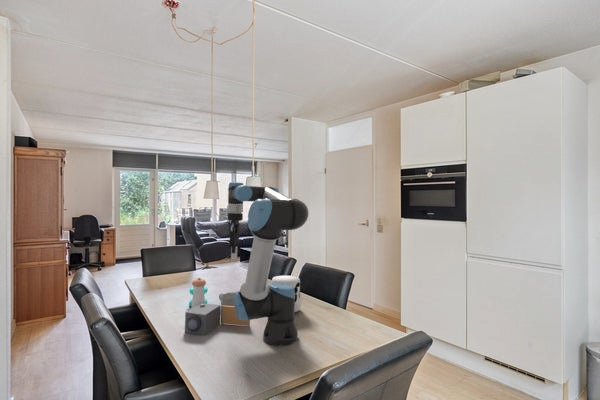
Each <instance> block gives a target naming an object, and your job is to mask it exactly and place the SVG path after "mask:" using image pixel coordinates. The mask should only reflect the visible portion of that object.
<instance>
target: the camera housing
mask: <svg viewBox="0 0 600 400" xmlns="http://www.w3.org/2000/svg"><path fill="white" fill-rule="evenodd" d="M191 308H192V307H191ZM191 308H190V309H188V310H187V311H185V318H184V319H185V320H184V333H187V334H194V335H200V336H202V335H203V336H206V335H207V334H209V333H210V332H211V331H213V330H214V329H215V328H217V327H218V326H219V325H221V304H213V303H207V304H206V303H202V304H200V305H198V306H196V307H194V308H192V309H191Z"/></svg>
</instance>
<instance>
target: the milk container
mask: <svg viewBox="0 0 600 400" xmlns="http://www.w3.org/2000/svg"><path fill="white" fill-rule="evenodd" d="M273 283H277V284H285V285H289V286H291V287H293V288H294V290H295V308H294V314H296V313H298V312H299V311H300V310H301V307H302V298H301V294H300V293H301V291H300V290H301V279H300V278H299V277H298V276H295V275H294V276H293V275H277V276H276V275H275V276H273V277H272V278H271V284H273Z"/></svg>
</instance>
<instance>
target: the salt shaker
mask: <svg viewBox="0 0 600 400" xmlns="http://www.w3.org/2000/svg"><path fill="white" fill-rule="evenodd" d="M191 284H192V286H193V295H192V297H191V298H192V299H191V300H192V307H191V308H190V310H191V309H192V308H194V307H196V306H198V305H200V304H202V303H205V299H206V298H205V294H204V287H205V286H206V284H207V281H206V280H205V279H203V278H201V277H198V278H195V279H194V280H192V281H191Z"/></svg>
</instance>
